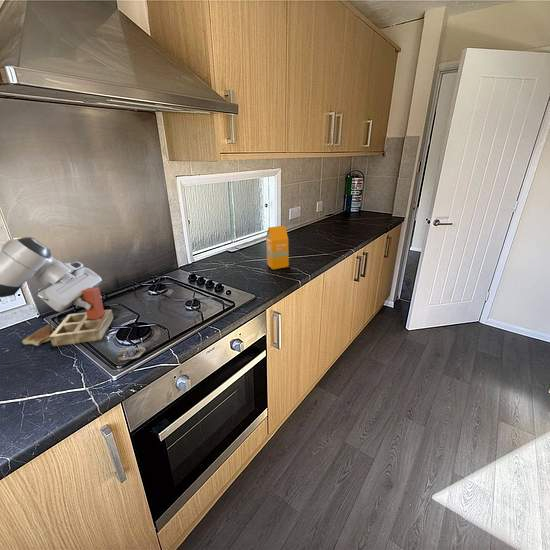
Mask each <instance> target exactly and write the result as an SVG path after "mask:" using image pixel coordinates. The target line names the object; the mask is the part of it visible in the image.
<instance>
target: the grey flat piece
mask: <svg viewBox="0 0 550 550" xmlns="http://www.w3.org/2000/svg"><path fill="white" fill-rule="evenodd" d="M146 350H147V349H146V348H145V347H143V346H140V347H136V348H134V347H129V346H128V347H127V348H122V349H121V350H119V351H118V352H117V354H115V357H116V359H117V360H118V362H119V361H126V360H135V359H138V358H140V357H141V356H142V354H144V352H146Z"/></svg>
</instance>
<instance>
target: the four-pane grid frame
mask: <svg viewBox="0 0 550 550" xmlns="http://www.w3.org/2000/svg"><path fill="white" fill-rule="evenodd" d="M113 319H114V313H113V311H112V308H110V309H104V315H103V316H102V317H100V318H99V319H88V317H87V312H86V311H85V312H77V313H69V314H68V313H67V315H66V317H64V319H63V320H62V321H61V322H60V324H59V325H58V326H57V327H56V328H55V330H53V333H52V334H51V336H50V337H49V338H50V340H49V341H50V342H51V345H52V347H59V346H64V345H65V346H66V345H73V344H81V343H88V342H95V341H101V340H103V337H105V334H106V332H107V331H108V329H109V327H110V325H111V323H112V321H113Z"/></svg>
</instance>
